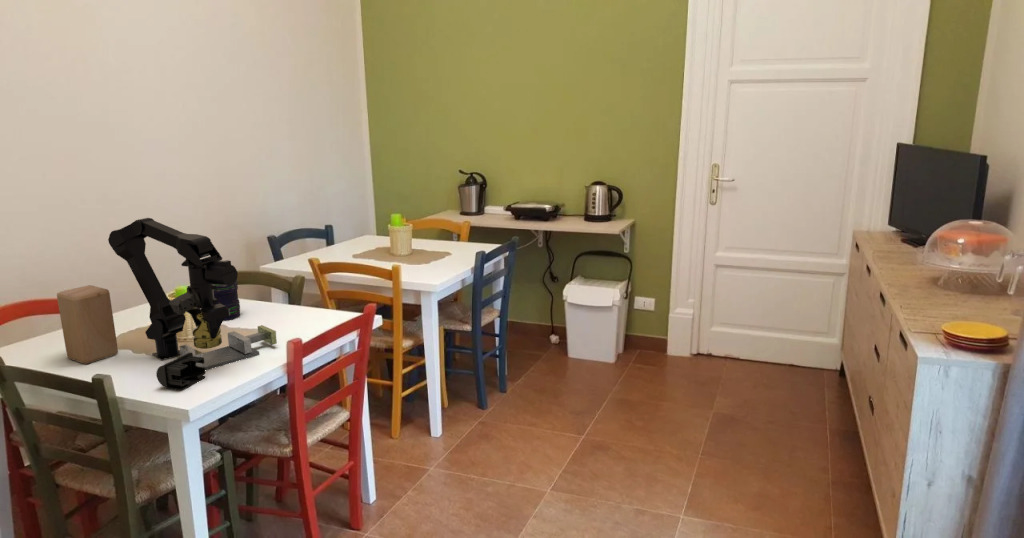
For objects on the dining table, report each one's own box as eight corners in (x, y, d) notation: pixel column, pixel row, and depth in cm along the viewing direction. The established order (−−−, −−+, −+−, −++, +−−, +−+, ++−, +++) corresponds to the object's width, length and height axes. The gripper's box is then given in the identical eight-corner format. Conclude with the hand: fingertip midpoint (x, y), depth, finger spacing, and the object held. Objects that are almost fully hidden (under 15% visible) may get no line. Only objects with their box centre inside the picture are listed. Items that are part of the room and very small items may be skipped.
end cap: (185, 374, 187) (183, 351, 185) (207, 377, 185) (204, 353, 183) (157, 389, 178) (154, 364, 176) (180, 392, 176) (177, 367, 174)
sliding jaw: (228, 345, 204) (227, 332, 203) (261, 336, 212) (260, 324, 211) (245, 353, 198) (243, 340, 197) (278, 344, 206) (277, 331, 205)
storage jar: (207, 322, 229) (202, 279, 225) (212, 313, 238) (207, 271, 235) (238, 320, 231) (234, 277, 228) (242, 311, 241) (238, 270, 237)
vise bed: (180, 362, 195) (178, 345, 194) (241, 345, 208) (239, 330, 207) (198, 372, 188) (196, 355, 187) (259, 354, 201) (258, 338, 200)
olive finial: (207, 351, 190) (203, 317, 187) (187, 346, 193) (184, 312, 190) (228, 342, 196) (225, 309, 194) (209, 337, 199) (205, 305, 197)
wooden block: (120, 354, 201) (110, 288, 196) (85, 365, 193) (74, 297, 188) (100, 348, 206) (90, 283, 201) (65, 358, 198) (54, 292, 193)
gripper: (157, 281, 190) (163, 334, 194) (186, 294, 178) (193, 351, 182) (197, 274, 198) (202, 325, 202) (228, 286, 186) (233, 340, 190)
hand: (207, 335), depth 194 cm, fingers closed on olive finial, 7 cm apart
